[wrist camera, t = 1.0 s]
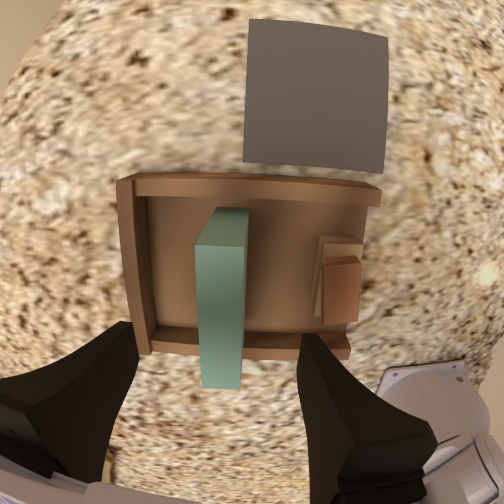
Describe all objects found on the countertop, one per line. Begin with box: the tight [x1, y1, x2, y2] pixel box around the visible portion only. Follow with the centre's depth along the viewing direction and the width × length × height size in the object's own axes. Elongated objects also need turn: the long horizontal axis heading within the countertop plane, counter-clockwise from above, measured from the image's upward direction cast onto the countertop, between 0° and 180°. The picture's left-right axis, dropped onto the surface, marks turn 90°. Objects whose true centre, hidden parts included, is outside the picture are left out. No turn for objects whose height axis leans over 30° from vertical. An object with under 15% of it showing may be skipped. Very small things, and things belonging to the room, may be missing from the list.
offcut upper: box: [320, 255, 361, 325], centre depth 19 cm, size 2×4×1 cm, turn 6°
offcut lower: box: [311, 235, 364, 316], centre depth 20 cm, size 2×5×2 cm, turn 178°
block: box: [195, 207, 249, 390], centre depth 17 cm, size 2×8×7 cm, turn 178°
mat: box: [243, 19, 389, 174], centre depth 17 cm, size 9×10×1 cm
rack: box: [116, 173, 382, 360], centre depth 20 cm, size 15×12×3 cm
